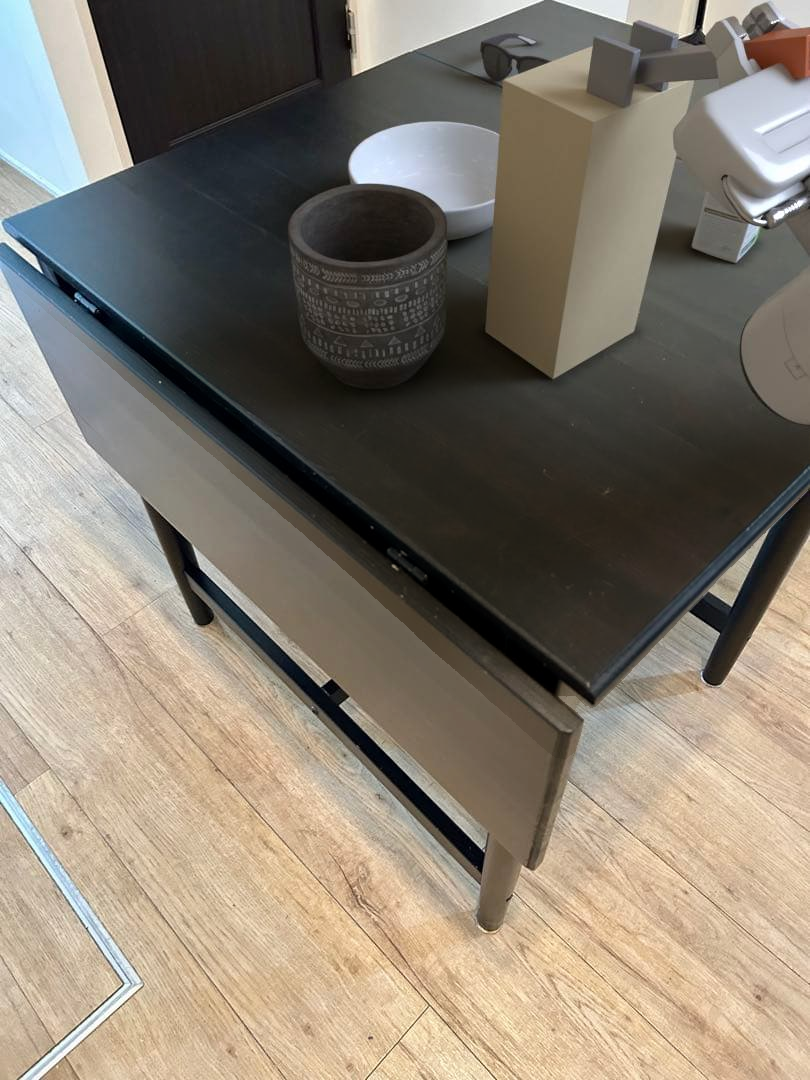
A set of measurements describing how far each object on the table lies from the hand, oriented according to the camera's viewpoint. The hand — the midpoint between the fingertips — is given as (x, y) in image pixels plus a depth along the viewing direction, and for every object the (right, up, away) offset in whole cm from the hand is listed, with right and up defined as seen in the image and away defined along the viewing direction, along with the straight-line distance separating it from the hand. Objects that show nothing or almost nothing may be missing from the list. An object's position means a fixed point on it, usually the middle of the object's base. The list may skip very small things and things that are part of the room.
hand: (736, 18), depth 57 cm
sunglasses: (-1, +37, +72) cm, 81 cm away
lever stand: (-6, -14, +30) cm, 34 cm away
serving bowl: (-19, +4, +45) cm, 49 cm away
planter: (-26, -17, +28) cm, 42 cm away
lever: (0, -3, +3) cm, 4 cm away
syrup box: (+14, -1, +40) cm, 43 cm away
